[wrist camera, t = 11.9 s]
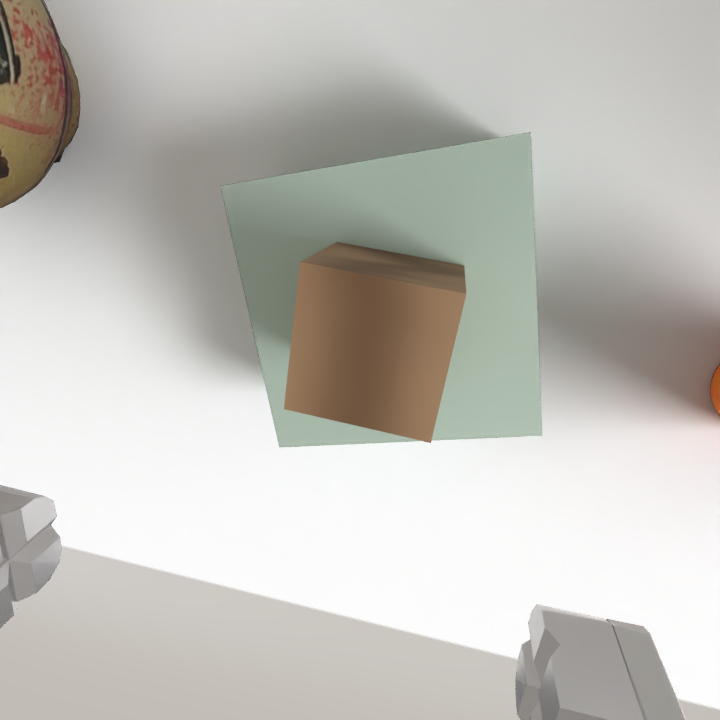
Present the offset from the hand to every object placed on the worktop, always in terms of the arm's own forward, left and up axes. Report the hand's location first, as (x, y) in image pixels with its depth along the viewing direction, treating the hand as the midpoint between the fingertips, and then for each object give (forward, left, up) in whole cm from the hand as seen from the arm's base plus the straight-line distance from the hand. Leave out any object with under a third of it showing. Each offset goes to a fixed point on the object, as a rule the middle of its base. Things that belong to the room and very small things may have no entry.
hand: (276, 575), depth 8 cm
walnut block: (0, 0, -17) cm, 17 cm away
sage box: (+1, 0, -25) cm, 25 cm away
